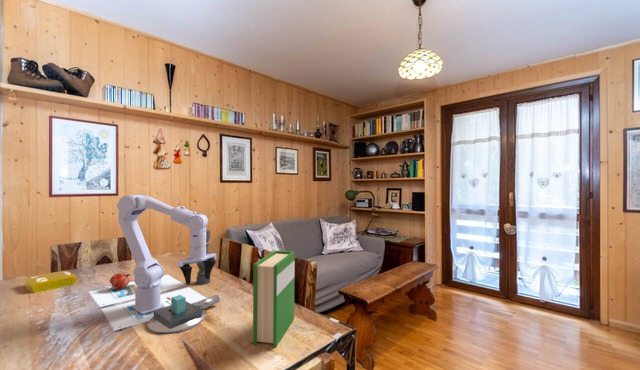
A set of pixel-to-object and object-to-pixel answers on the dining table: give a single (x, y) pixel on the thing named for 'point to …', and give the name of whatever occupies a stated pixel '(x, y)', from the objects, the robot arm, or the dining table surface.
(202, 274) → the candle holder
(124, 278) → the pomegranate
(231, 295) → the dining table surface
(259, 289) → the hardback book
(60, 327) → the dining table surface
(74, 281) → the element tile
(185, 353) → the dining table surface
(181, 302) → the teal rectangular prism
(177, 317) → the rosette bracket
